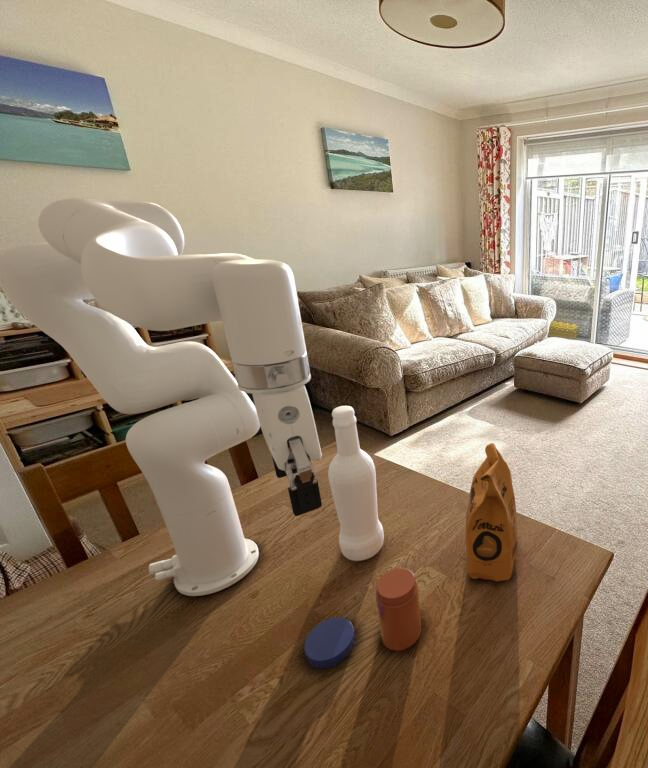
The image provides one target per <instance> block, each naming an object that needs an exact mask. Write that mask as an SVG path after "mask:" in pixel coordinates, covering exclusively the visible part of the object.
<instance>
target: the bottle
mask: <svg viewBox="0 0 648 768" xmlns="http://www.w3.org/2000/svg"><path fill="white" fill-rule="evenodd" d="M331 417H332V422H331V423H332V426H333V427H334V436H335V443H336V450H337V453H336V454H335V456H333V458H332V460H331V461H330V464H329V467H328V470H327V474H328V475H327V477H328V483H329V487H330V490H331V494H332V498H333V502H334V506H335V511H336V514H337V519H338V523H339V526H340V527H339V528H340V530H339V534H338V544H339V549H340V552H341V554H342V556H343V557H345V558H346V559H347V560H349V561H353V562H359V561H360V562H361V561H366V560H369V559H371V558H373V557H374V556H376V555H377V554H378V553H379V552H380V551H381V549H382V548H383V545H384V539H385V533H384V527H383V525H382V523H381V521H380V520H379V515H378V514H379V513H378V512H379V511H378V493H377V475H376V472H377V471H376V466H375V463H374V460H373V459H372V457H371V456H370V455H369V454H368V453H367V452H366V451H365V450H363V449H361V447H360V440H359V433H358V428H357V421H358V420H357V417H356V416H355V409H354V408H353V407H352V406H350V405H340V406H336V407H335V408H333V410H332V412H331Z"/></svg>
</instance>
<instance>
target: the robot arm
mask: <svg viewBox="0 0 648 768" xmlns="http://www.w3.org/2000/svg"><path fill="white" fill-rule="evenodd" d="M37 223H38V224H37V225H38V229H39V232H40V234H41V236H42V237H43V239H44V240H45V242H34V243H26V244H20V245H16V246H12V247H9V248H6V249H4V250H2V251H0V289H1V290H2V292H3V294H4V296H5V297H6V298H7V299H8V301H9V302H10V303H11V304H12V306H13V307H14V308H15V309H16V310H17V311H18V312H19V313H20V314H21V315H22V316H23V317H24V318H25V319H27V321H29V322H30V323H31V324H32V325H34V327H36V328H37V329H39V330H40V331H42V332H43V333H44V334H45V335H47V336H49V337H50V338H51V339H53V340H54V341H55V342H56V343H57V344H58V345H60V346H61V347H62V348H63V349H64V350H65V351H66V352H67V353H68V355H69V356H70V357H71V359H72V360H73V361H74V363H75V364H76V365H77V366H78V368H79V369H80V370H81V372H82V373H83V374H84V376H85V377H86V378H87V379H88V382H90V383H91V385H92V386H93V387H94V388H95V390H96V391H97V392H98V394H99V395H100V396H101V397H102V398H103V401H105V402H106V403H107V405H108V406H110V407H111V409H114V410H115V411H116V412H118V413H120V414H124V415H136V414H142V413H146V412H149V411H150V412H151V411H154V410H156V409H160V408H163V407H166V406H169V405H172V404H177V403H178V402H181V401H185V400H188V399H190V398H191V399H192V398H197V399H194V400H192V401H189V402H188V401H187V402H184V403H180V404H178V405H175V406H172V407H170V408H166V409H164V410H163V409H162V410H159V411H158V412H155V413H153V414H150V415H148V416H146V417H144V418H142V419H140V420H138V421H137V422H136V423H134V424H133V425H132V426H131V427H130V428H129V429H128V431H127V432H126V436H125V445H126V447H127V451H128V452H129V455H130V456H131V458H132V460H133V461H134V462H135V464H136V465H137V467H138V468H139V470H140V471H141V473H142V475H143V476H144V477H145V479H146V481H147V483H148V485H149V487H150V489H151V491H152V495H153V496H154V499H155V501H156V503H157V506H158V509H159V511H160V513H161V516H162V519H163V522H164V525H165V527H166V531H167V532H168V535H169V538H170V541H171V543H172V546H173V548H174V552H175V554H174V555H172V557H171V558H168V559H163V560H159V561H156V562H152V563H149V565H148V572H149V575H150V576H154V580H155V582H156V583H158V582H160V581H164V580H167V579H169V578H173V584H174V588H175V589H176V590H177V592H178V593H180V594H181V595H184V596H188V597H199V596H200V597H201V596H205V595H211V594H214V593H217V592H220V591H222V590H225V589H227V588H229V587H230V586H232V585H234V584H236V583H238V582H239V581H240V580H241V579H243V578H244V577H245V576H247V575H248V574H249V573H250V572H251V571H252V570H253V568H254V567H255V565H256V564H257V562H258V559H259V556H260V555H259V554H260V552H259V547H258V545H257V544H256V542H254V541H253V540H252V539H249V538H245V535H244V533H243V532H244V531H243V528H242V525H241V521H240V518H239V517H240V516H239V514H238V510H237V506H236V503H235V499H234V497H233V493H232V489H231V486H230V483H229V480H228V478H227V476H226V474H225V473H224V472H223V471H222V470H220V468H217V467H215V466H212V465H210V464H208V463H205V462H206V461H207V460H209V459H210V458H212V457H214V456H216V455H217V454H219V453H222V452H225V451H226V450H228V449H231V448H233V447H235V446H237V445H239V444H241V443H243V442H246V441H248V440H249V439H251V438H252V437H254V436H256V434H257V433H258V432H259V430H260V429H261V432H262V436H263V438H264V441H265V443H266V445H267V448H268V450H269V452H270V454H271V459H272V463H273V468H274V471H275V475H276V478H278V479H282V478H285V477H287V480H288V483H289V487H287V491H288V492H287V493H288V496H289V501H290V506H291V510H292V514H293V515H294V517H299V516H302V515H304V514H305V515H306V514H307V513H309V512H312V511H315V510H318V509H320V508H321V507H322V506H323V502H322V496H321V492H320V487H319V486H320V485H319V480H318V479H317V476H316V473H315V469H314V467H313V466H314V465H313V462H315V461H320V460H321V459H322V457H323V453H322V449H321V445H320V440H319V435H318V430H317V426H316V421H315V417H314V413H313V409H312V405H311V401H310V397H309V393H308V390H307V388H306V384H307V383H309V382H310V381H311V379H312V375H311V369H310V364H309V358H308V357H309V356H308V351H307V346H306V340H305V333H304V328H303V322H302V317H301V311H300V306H299V305H300V304H299V299H298V294H297V293H298V292H297V287H296V282H295V281H296V280H295V276H294V273H293V271H292V269H291V267H290V265H288V264H286V263H285V262H282V261H280V260H274V259H261V258H259V259H258V258H253V257H251V256H249V255H244V254H241V253H234V252H233V253H232V252H231V253H230V252H224V253H223V252H222V253H206V254H205V253H204V254H202V253H194V254H183V253H184V250H185V235H184V231H183V229H182V227H181V225H180V223H179V221H178V219H177V218H176V217H175V216H174V215H173V214H172V213H171V212H170V211H169V210H167V208H165V207H162V205H159V204H157V203H154V202H150V201H145V200H130V199H109V198H93V197H92V198H91V197H90V198H88V197H87V198H85V197H73V198H63V199H59V200H55V201H52V202H51V203H49V204H48V205H46V206H45V207H43V209H42V210H41V212H40V213H39V216H38V221H37ZM88 300H96V302H97V303H98V304H99V305H100V306H101V308H103V309H101V308H99V307H96V306H93V305H90V304H88V303H86V302H85V301H88ZM216 322H221V323H222V326H223V330H224V334H225V338H226V343H227V346H228V351H229V355H230V359H231V363H232V368H233V371H234V375H235V377H234V375H233V374H232V373H231V372H230V370H229V369H228V367H227V366H226V364H225V363H224V362H223V361H222V360H221V359H220V357H219V356H218V355H217V354H216V352H215V351H214V350H213V349H211V348H209V346H206V345H205V344H203V343H201V342H197V341H192V340H191V341H189V340H188V341H187V340H186V341H179V342H173V343H169V344H163V345H159V346H152V345H149V344H147V343H146V342H145V341H144V339H143V338H142V337H141V336H140V334H139V333H138V332H137V330H136V329H135V328H134V327H137V328H140V329H143V330H146V331H147V330H148V331H156V332H167V331H168V332H169V331H174V330H179V329H184V328H189V327H194V326H199V325H206V324H210V323H216ZM133 326H134V327H133ZM248 394H252V398H253V401H252V400H251V398H250V397H249V395H248ZM294 474H296V475H294Z"/></svg>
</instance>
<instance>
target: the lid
mask: <svg viewBox="0 0 648 768" xmlns="http://www.w3.org/2000/svg"><path fill="white" fill-rule="evenodd" d="M354 629H355V628H354V625H353V623H352V622H351V621H350V620H349V619H347V618H345V617H331V618H328V619H326V620H323V621H321V622H320V623H318V624H317V625H316V626H315V627H313V628H312V629H311V631H310V632H309V633H308V634H307V636H306V639H305V642H304V647H303V648H304V649H303V650H304V657H305V660H306V661H307V663H308V665H310V666H311V667H312V668H315V669H319V670H320V669H321V670H322V669H329V668H332V667H334V666H337V665H338V664H340V663H341V662H342V661H345V659H346V658H347V657H348V656H349V655H350V654H351V651H352V650H353V648H354V646H355V643H356V632H355V630H354Z"/></svg>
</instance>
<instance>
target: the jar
mask: <svg viewBox="0 0 648 768" xmlns="http://www.w3.org/2000/svg"><path fill="white" fill-rule="evenodd" d="M375 600H376V602H375V603H376V607H377V616H378V622H379V631H380V636H381V642H382V644H383V645H384V646H385V647H386V648H387V649H388V650H391V651H395V652H396V651H399V652H400V651H403V650H406V649H408V648H410V647H412V646H413V645H414V644H415V643H416V642H417V641H418V639H419V637H420V636H421V633H422V620H421V608H420V596H419V587H418V581H417V577H416V574H415V573H413V571H411V570H410V569H408V568H404V567H396V568H393V569H390V570H388V571H386V572H384V573H383V574H382V575H381V576H380V577H379V579H378V581H377V584H376V590H375Z"/></svg>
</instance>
